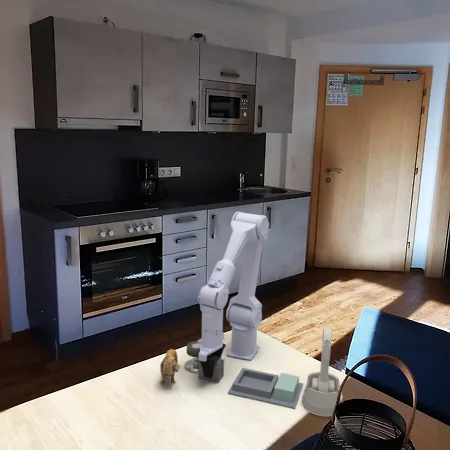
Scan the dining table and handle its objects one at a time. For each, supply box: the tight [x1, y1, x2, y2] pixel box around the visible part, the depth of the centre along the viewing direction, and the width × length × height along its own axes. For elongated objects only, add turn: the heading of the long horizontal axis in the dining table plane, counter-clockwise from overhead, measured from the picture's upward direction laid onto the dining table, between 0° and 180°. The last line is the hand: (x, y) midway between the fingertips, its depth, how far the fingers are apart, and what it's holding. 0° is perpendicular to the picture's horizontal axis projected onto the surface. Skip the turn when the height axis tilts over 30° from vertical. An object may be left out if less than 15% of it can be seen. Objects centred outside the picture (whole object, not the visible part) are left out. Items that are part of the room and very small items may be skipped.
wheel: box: [186, 340, 201, 358], centre depth 136 cm, size 6×6×2 cm
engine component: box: [301, 326, 344, 417], centre depth 119 cm, size 11×20×10 cm
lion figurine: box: [159, 348, 181, 386], centre depth 130 cm, size 15×5×9 cm, turn 8°
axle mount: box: [184, 357, 199, 374], centre depth 137 cm, size 7×7×2 cm
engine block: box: [197, 356, 225, 384], centre depth 131 cm, size 4×6×6 cm
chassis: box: [227, 367, 304, 410], centre depth 126 cm, size 12×18×3 cm, turn 71°
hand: (211, 372), depth 131 cm, fingers closed on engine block, 4 cm apart
